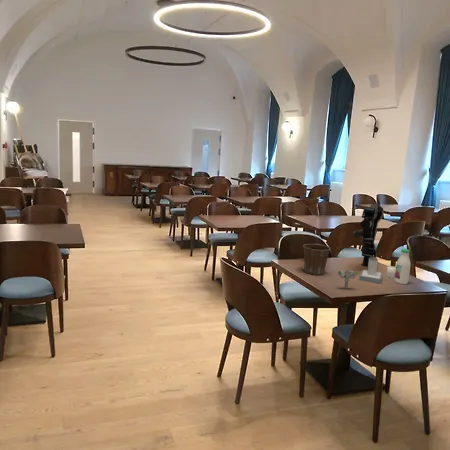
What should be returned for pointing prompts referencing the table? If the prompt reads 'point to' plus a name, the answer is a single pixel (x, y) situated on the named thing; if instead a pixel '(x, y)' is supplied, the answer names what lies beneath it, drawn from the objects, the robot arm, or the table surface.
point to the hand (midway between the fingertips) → (364, 251)
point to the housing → (372, 266)
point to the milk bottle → (403, 267)
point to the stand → (371, 277)
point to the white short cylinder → (391, 271)
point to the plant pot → (315, 258)
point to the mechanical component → (347, 276)
